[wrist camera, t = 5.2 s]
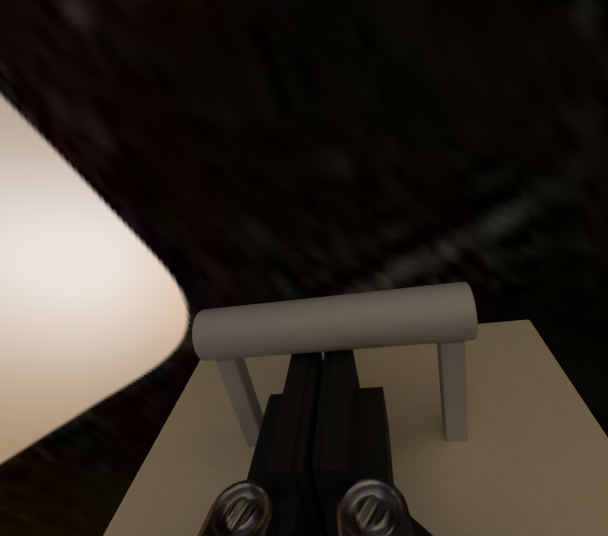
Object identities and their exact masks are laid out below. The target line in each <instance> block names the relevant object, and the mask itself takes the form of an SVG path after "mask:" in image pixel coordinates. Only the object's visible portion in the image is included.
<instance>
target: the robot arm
mask: <svg viewBox="0 0 608 536" xmlns="http://www.w3.org/2000/svg"><path fill="white" fill-rule="evenodd" d="M197 536H433V535H432V534H431V533H430V532H428V531H427V530H426V529H425V528H424V527H423V526H422V525H420V524H419V523H418V522H417V521H416V520H415V519H414V518H413V517H411V516H410V513H409V509H408V505H407V503H406V500H405V498H404V496H403V494H402V493H401V491H400V490H399V489H398V488H397V487H396V486H395V485H394V479H393V468H392V457H391V446H390V435H389V426H388V417H387V410H386V403H385V397H384V391H383V387H371V388H360V384H359V379H358V374H357V369H356V364H355V358H354V353H353V349H352V350H339V351H327V352H324V361H323V357H322V353H321V352H314V353H301V354H292V355H291V359H290V363H289V368H288V372H287V376H286V381H285V385H284V389H283V394H271V395H270V397H269V399H268V402H267V406H266V409H265V413H264V417H263V421H262V424H261V428H260V432H259V435H258V439H257V443H256V446H255V450H254V454H253V458H252V461H251V465H250V469H249V472H248V476H247V480H243V481H240V482H237V483H234V484H232V485H231V486H229V487H227V488H226V489H225V490H224V491H223V492H221V493H220V494H219V495H218V496H217V498H216V500H215V501H214V503H213V504H212V506H211V508H210V510H209V512H208V514H207V516H206V519H205V521H204V523H203V525H202V527H201V529H200V531H199V533H198V535H197Z"/></svg>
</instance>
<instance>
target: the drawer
mask: <svg viewBox="0 0 608 536" xmlns="http://www.w3.org/2000/svg"><path fill="white" fill-rule="evenodd" d="M192 339H193V345H194V349H195V351H196V354H197V355H198V357H199V358H200V359H201V360H200V362H199V364H198V365H197V367H196V369H195V371H194V373H193V374H192V376H191V378H190V380H189V382H188V383H187V385H186V387H185V389H184V391H183V392H182V394H181V396H180V398H179V400H178V402H177V403H176V405H175V407H174V409H173V411H172V412H171V414H170V416H169V418H168V420H167V421H166V423H165V425H164V427H163V429H162V430H161V432H160V434H159V436H158V438H157V439H156V441H155V443H154V445H153V447H152V448H151V450H150V452H149V454H148V456H147V458H146V459H145V461H144V463H143V465H142V467H141V468H140V470H139V472H138V474H137V476H136V477H135V479H134V481H133V483H132V485H131V486H130V488H129V490H128V492H127V494H126V495H125V497H124V499H123V501H122V503H121V504H120V506H119V508H118V510H117V512H116V513H115V515H114V517H113V519H112V521H111V523H110V524H109V526H108V528H107V530H106V532H105V533H104V535H103V536H197V535H198V533H199V531H200V529H201V527H202V525H203V523H204V521H205V519H206V516H207V514H208V512H209V510H210V508H211V506H212V504H213V503H214V501H215V500H216V498H217V496H218V495H219V494H220V493H221V492H223V491H224V490H225V489H226V488H227V487H229V486H231V485H232V484H234V483H237V482H240V481H243V480H247V476H248V472H249V469H250V465H251V461H252V458H253V454H254V450H255V446H256V443H257V439H258V435H259V432H260V428H261V424H262V421H263V417H264V413H265V409H266V406H267V402H268V399H269V397H270V395H271V394H283V389H284V385H285V381H286V376H287V372H288V368H289V363H290V359H291V355H292V354H301V353H314V352H321V353H322V357H323V361H324V352H327V351H339V350H352V349H353V353H354V358H355V364H356V369H357V374H358V379H359V384H360V388H371V387H383V391H384V397H385V403H386V410H387V417H388V426H389V435H390V446H391V457H392V468H393V479H394V485H395V486H396V487H397V488H398V489H399V490H400V491H401V493H402V494H403V496H404V498H405V500H406V503H407V505H408V509H409V513H410V516H411V517H413V518H414V519H415V520H416V521H417V522H418V523H419V524H420V525H422V526H423V527H424V528H425V529H426V530H427V531H428V532H430V533H431V534H432V535H433V536H608V437H607V436H606V434H605V433H604V431H603V430H602V428H601V427H600V425H599V424H598V422H597V421H596V419H595V418H594V416H593V415H592V413H591V412H590V410H589V409H588V407H587V406H586V404H585V403H584V401H583V400H582V398H581V397H580V395H579V394H578V392H577V391H576V389H575V388H574V386H573V385H572V383H571V382H570V380H569V379H568V377H567V376H566V374H565V373H564V371H563V370H562V368H561V367H560V365H559V364H558V362H557V361H556V359H555V358H554V356H553V355H552V353H551V352H550V350H549V349H548V347H547V346H546V344H545V343H544V341H543V340H542V338H541V337H540V335H539V334H538V332H537V331H536V329H535V328H534V326H533V325H532V323H531V322H530V320H519V321H507V322H496V323H484V324H478V322H477V312H476V306H475V301H474V297H473V294H472V291H471V288H470V286H469V285H468V283H467V282H458V283H449V284H439V285H430V286H421V287H411V288H402V289H393V290H384V291H374V292H365V293H356V294H346V295H337V296H328V297H319V298H309V299H300V300H291V301H281V302H272V303H263V304H254V305H244V306H235V307H226V308H216V309H207V310H202V311H200V312H199V313H198V314H197V315H196V317H195V319H194V323H193V329H192Z"/></svg>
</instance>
